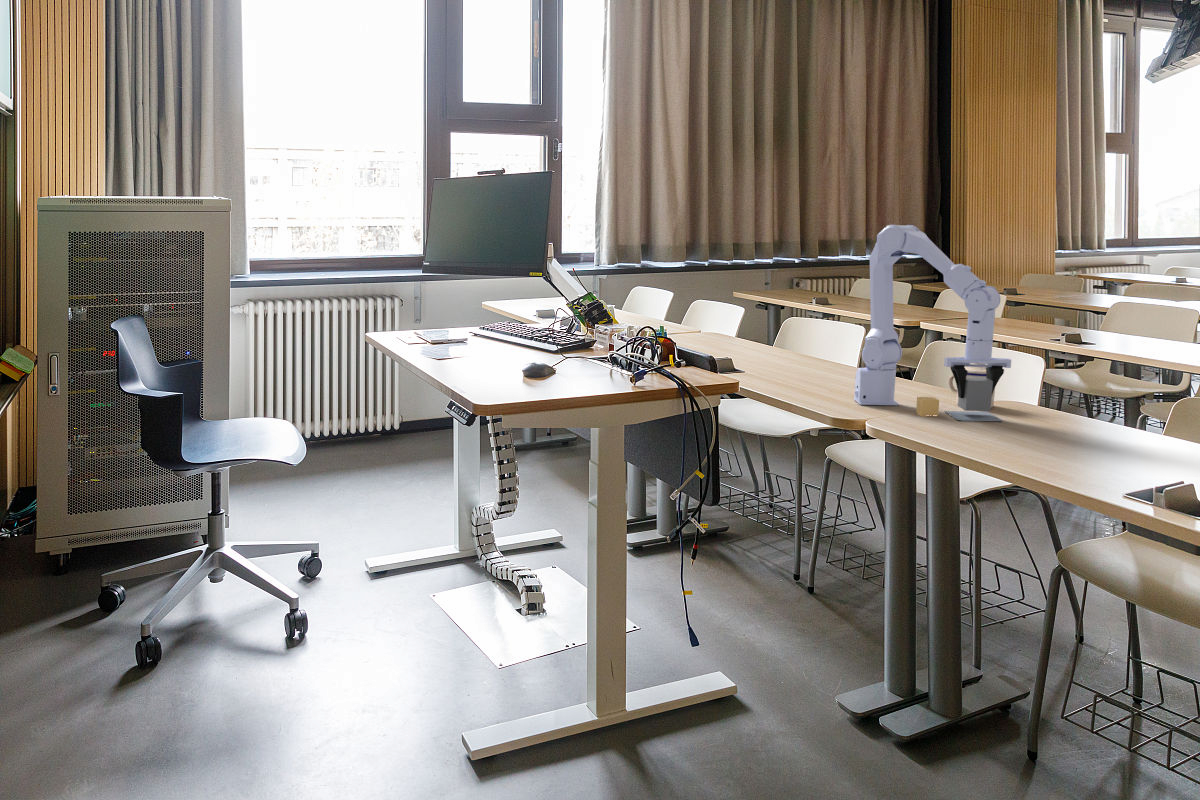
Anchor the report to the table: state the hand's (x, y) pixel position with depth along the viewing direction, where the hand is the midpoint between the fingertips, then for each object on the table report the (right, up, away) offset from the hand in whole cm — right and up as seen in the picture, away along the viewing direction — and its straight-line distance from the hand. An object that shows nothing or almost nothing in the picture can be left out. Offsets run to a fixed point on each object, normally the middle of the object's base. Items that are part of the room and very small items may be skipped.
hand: (974, 397), depth 219 cm
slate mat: (0, -5, +1) cm, 5 cm away
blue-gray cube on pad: (0, -3, 0) cm, 3 cm away
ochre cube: (-10, -4, +3) cm, 11 cm away
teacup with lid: (+5, -2, +16) cm, 17 cm away
